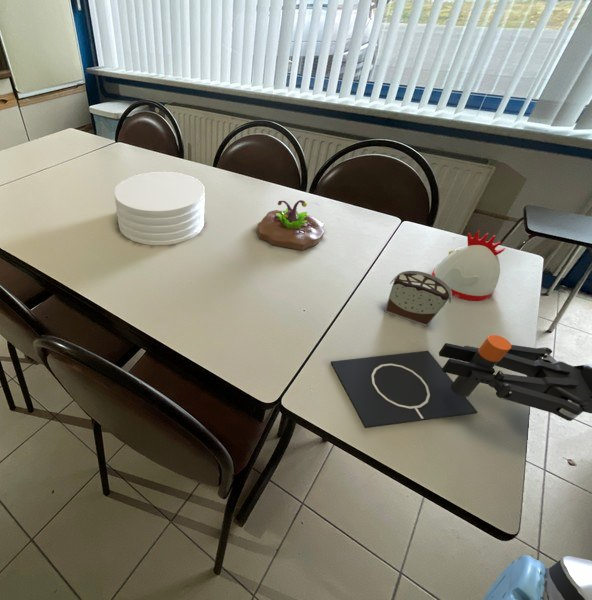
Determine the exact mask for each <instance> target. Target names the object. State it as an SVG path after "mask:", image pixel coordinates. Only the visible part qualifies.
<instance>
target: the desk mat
mask: <svg viewBox="0 0 592 600" xmlns="http://www.w3.org/2000/svg"><path fill="white" fill-rule="evenodd" d="M330 365H331V366H332V368H333V370H334V373H335V374H336V375H337V377H338V379H339V381H340V383H341V385H342V388H343V389H344V391H345V392H346V395H347V396H348V398H349V400H350V402H351V403H352V406H353V408H354V410H355V412H356V413H357V415H358V417H359V419H360V421H361V424H362V425H363V426H364V428H365V429H366V428H374V427H381V426H389V425H396V424H404V423H412V422H419V421H427V420H428V421H429V420H434V419H443V418H451V417H458V416H466V415H473V414H477V413H478V410H477V409H476V408H475V406H474V405H473V404H472V403H471V402H470V400H469V399H468V398H467V397H461V396H459V395H457V394H455V393H454V392H453V391H452V389H451V384H452V383H453V382H454V381H453V379H452V378H451V377H450V376H449V374H448V373H445V372H443V371H442V368H443V367H442V365H441V364H440V363H439V362H438V361H437V359H436V358H435V357H434V356H433V354H431V352H430V351H429V350H422V351H421V350H420V351H412V352H404V353H395V354H385V355H377V356H368V357H359V358H358V357H357V358H349V359H342V360H339V359H338V360H333V361H332V360H331V361H330Z"/></svg>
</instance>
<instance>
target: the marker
mask: <svg viewBox="0 0 592 600" xmlns="http://www.w3.org/2000/svg"><path fill="white" fill-rule="evenodd" d="M511 345H512V343H511V342H510V341H509V340H508V339H507V338H505V337H503V336H501V335H498V334H490V335H489V336H487V337H486V339H485V340H484V341H483V342H482V343H481V345H480V346H479V347H478V348H479V349H478V351H477V353H476V354H475V355H474V356H473V358H472V359H471V360H470V362H468V363H472V364H477V365H481V366H485V367H491V368H494V367H496V366H495V365H496V364H497V362H498V361H500V360H501V359H502V358H503V357H504V356H505V354H506V353H507V352H508V351H509V350H510V349H511ZM479 384H480V383H479V382H474V381H471V380H469V379H468V378H467V377H463V376H458V375H457V376H456V378H455V379H454V381H453V383H452V384H451V389H452V391H453V392H454V393H455V394H457V395H459V396H461V397H466V398H467V397H469V396H470V395H471V394H472V393H473V391H474V390H475V389H476V388H477V387H478V386H479Z"/></svg>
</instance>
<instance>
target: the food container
mask: <svg viewBox="0 0 592 600" xmlns="http://www.w3.org/2000/svg"><path fill="white" fill-rule="evenodd" d="M391 284H392V287H391V289H390V293H389V296H388V299H387V302H386V306H385V308H384V312H385V313H388V314H390V315H394V316H396V317H400V318H403V319H405V320H407V321H410V322H414V323H415V324H416V323H417V324H419V325H423V326H425V327H428V326H429V324H430V323H431V322H432V321H433V320H434V319H435V317H436V316H437V315H438V313H439V312H440V311H441V310H442V309H443V307H444V306H445V305H446V304H447V303H449V304H451V302H452V300H453V296H452V291H451V289H450V287H449V286H448V285H447V284H446V283H445V282H444V281H442V280H441V279H439V278H437V277H435V276H433V275H432V273H429V272H428V273H427V272H424V271H419V270H405V271H402V272H399V273H398V274H397V275H395V276H394V277H393V278H392V280H391V281H390V282H389V285H391ZM448 301H449V302H448Z"/></svg>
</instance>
